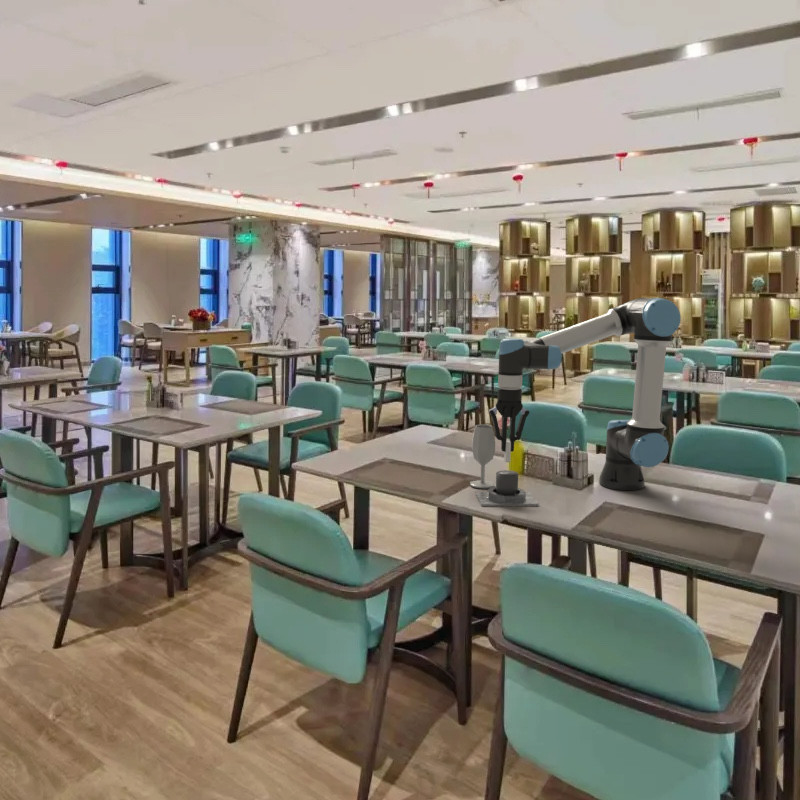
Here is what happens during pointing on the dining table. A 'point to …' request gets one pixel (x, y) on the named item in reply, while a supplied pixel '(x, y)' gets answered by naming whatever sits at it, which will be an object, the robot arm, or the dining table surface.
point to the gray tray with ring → (506, 498)
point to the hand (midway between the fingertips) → (507, 461)
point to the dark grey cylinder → (507, 482)
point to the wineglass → (483, 452)
